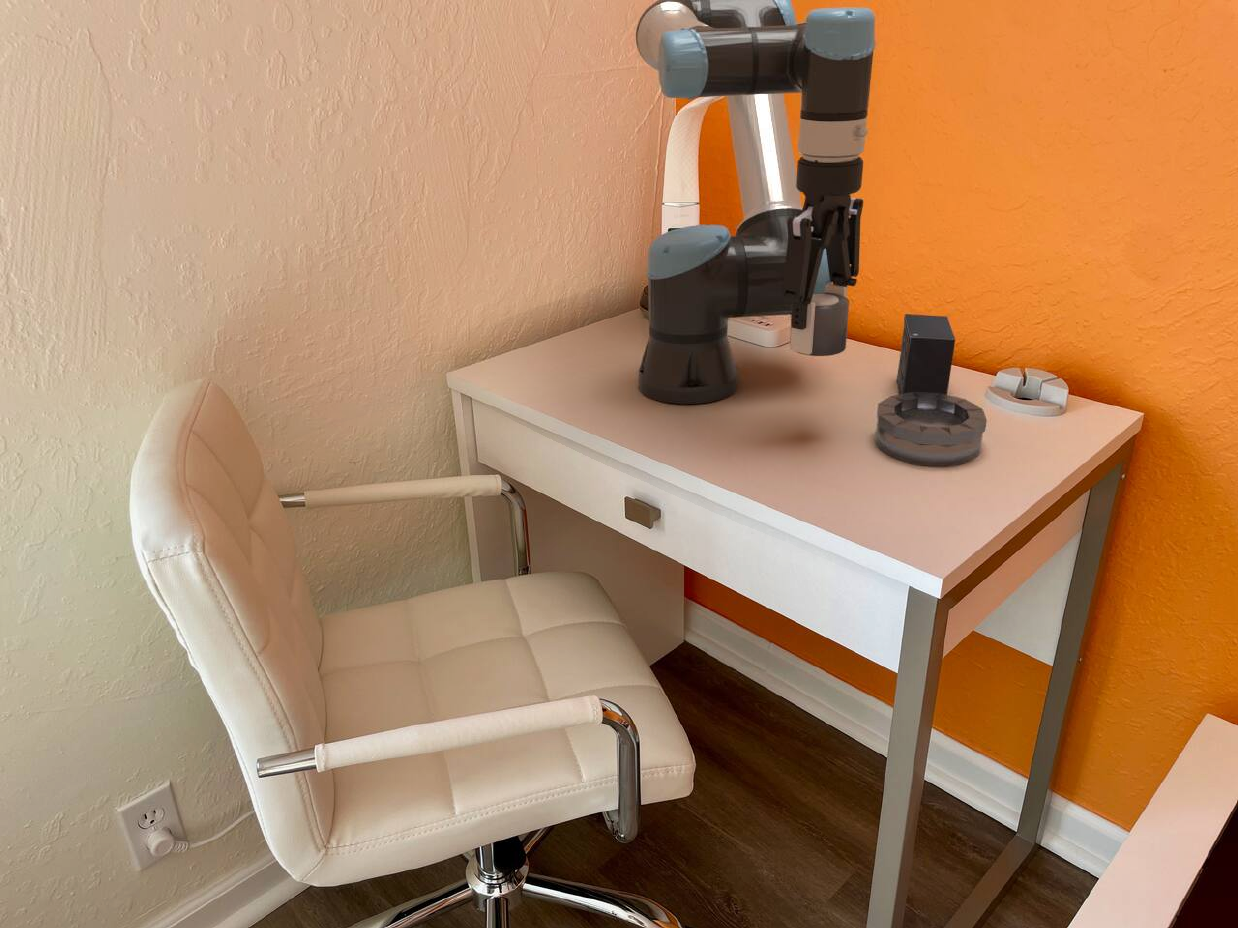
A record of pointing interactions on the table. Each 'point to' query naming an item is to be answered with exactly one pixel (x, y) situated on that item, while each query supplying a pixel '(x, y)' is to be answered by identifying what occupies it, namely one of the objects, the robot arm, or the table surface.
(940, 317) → the small box
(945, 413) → the faceted ashtray
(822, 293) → the cap
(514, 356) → the table surface
